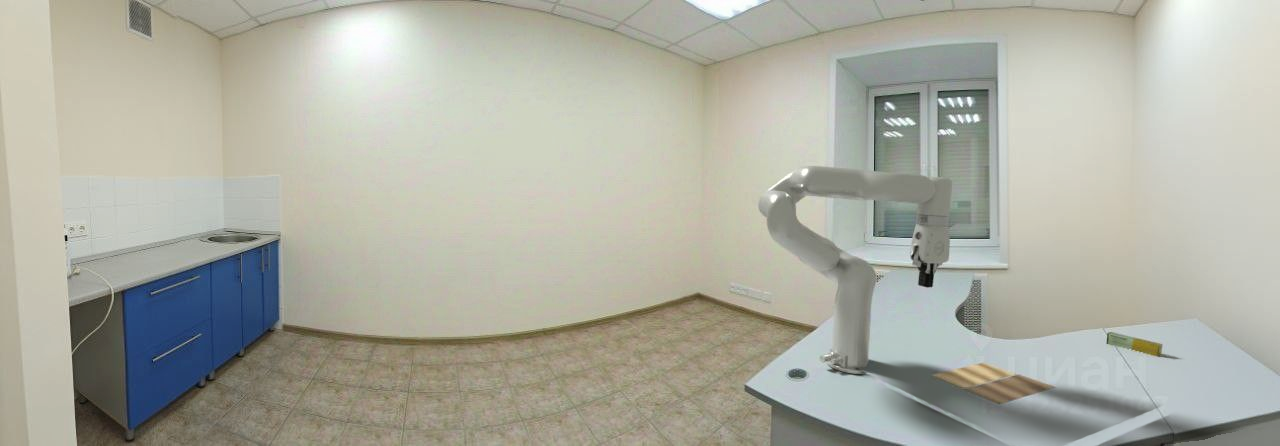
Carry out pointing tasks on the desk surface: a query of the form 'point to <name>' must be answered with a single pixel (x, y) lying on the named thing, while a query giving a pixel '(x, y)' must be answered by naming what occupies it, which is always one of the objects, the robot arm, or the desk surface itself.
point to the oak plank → (973, 375)
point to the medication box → (1134, 344)
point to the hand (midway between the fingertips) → (925, 286)
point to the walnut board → (1009, 388)
